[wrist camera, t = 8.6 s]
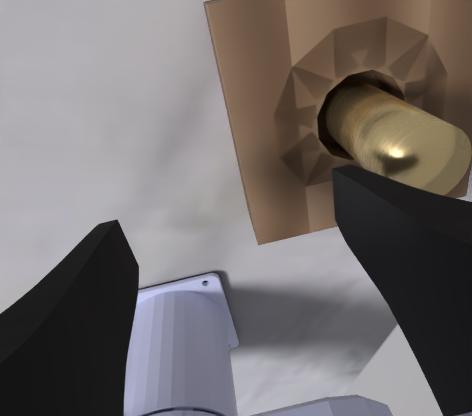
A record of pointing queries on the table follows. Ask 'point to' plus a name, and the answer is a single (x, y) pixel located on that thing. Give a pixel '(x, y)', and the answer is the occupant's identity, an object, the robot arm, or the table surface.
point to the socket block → (328, 89)
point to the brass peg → (395, 137)
